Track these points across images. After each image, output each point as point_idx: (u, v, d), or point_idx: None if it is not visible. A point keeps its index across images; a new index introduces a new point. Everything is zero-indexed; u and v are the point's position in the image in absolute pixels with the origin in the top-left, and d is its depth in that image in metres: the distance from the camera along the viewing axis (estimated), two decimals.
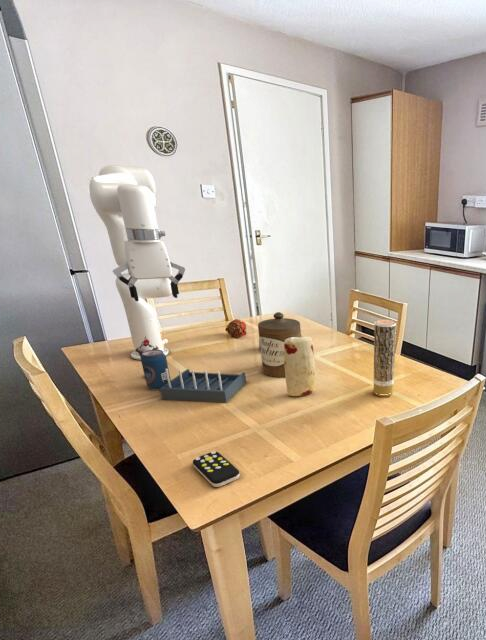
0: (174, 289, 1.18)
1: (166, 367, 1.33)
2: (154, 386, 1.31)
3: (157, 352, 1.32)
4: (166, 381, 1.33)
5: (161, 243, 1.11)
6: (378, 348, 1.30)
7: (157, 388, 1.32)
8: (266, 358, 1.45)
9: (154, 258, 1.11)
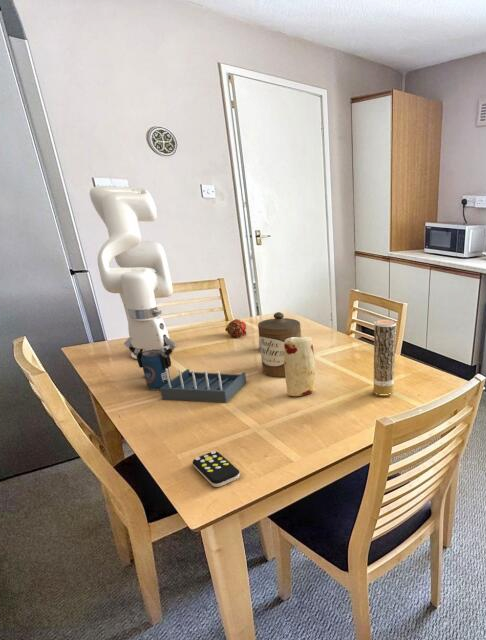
0: (162, 361, 1.30)
1: None
2: (154, 386, 1.31)
3: (157, 352, 1.32)
4: (166, 381, 1.33)
5: (152, 321, 1.24)
6: (378, 348, 1.30)
7: (157, 388, 1.32)
8: (266, 358, 1.45)
9: (146, 333, 1.25)
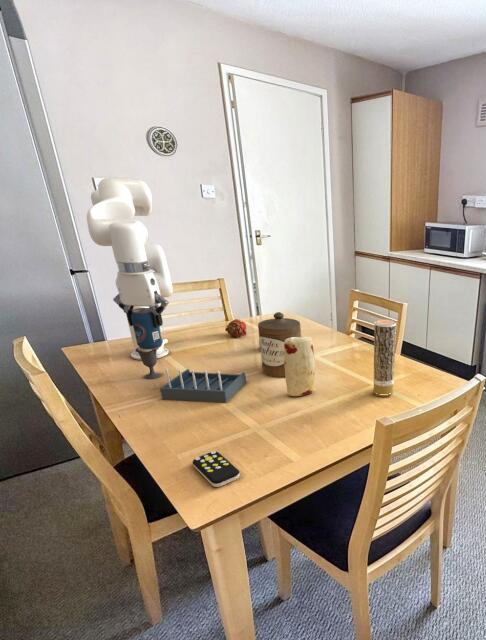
0: (153, 319, 1.25)
1: None
2: (144, 346, 1.26)
3: (148, 310, 1.26)
4: (157, 341, 1.28)
5: (142, 275, 1.19)
6: (378, 348, 1.30)
7: (148, 348, 1.27)
8: (266, 358, 1.45)
9: (136, 288, 1.20)
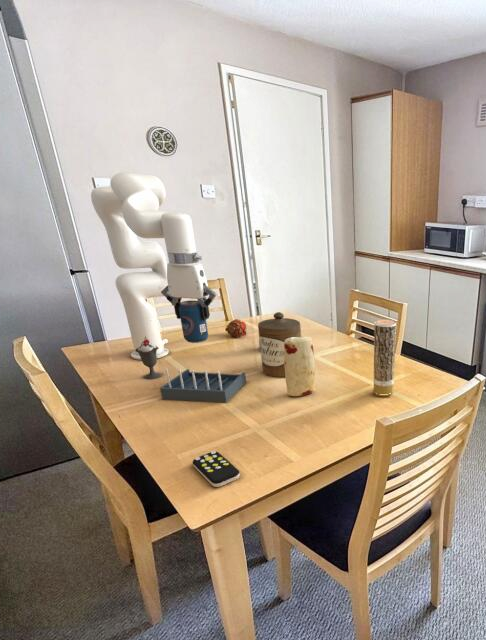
0: (201, 312, 1.23)
1: None
2: (192, 339, 1.25)
3: (195, 303, 1.25)
4: (204, 334, 1.27)
5: (192, 267, 1.17)
6: (378, 348, 1.30)
7: (195, 341, 1.26)
8: (266, 358, 1.45)
9: (185, 280, 1.19)
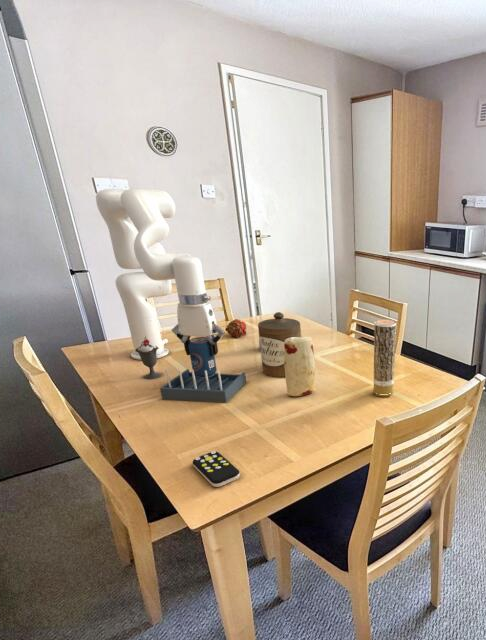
0: (210, 349, 1.28)
1: None
2: (201, 374, 1.30)
3: (204, 339, 1.30)
4: (213, 369, 1.31)
5: (202, 307, 1.22)
6: (378, 348, 1.30)
7: (204, 376, 1.30)
8: (266, 358, 1.45)
9: (195, 319, 1.23)
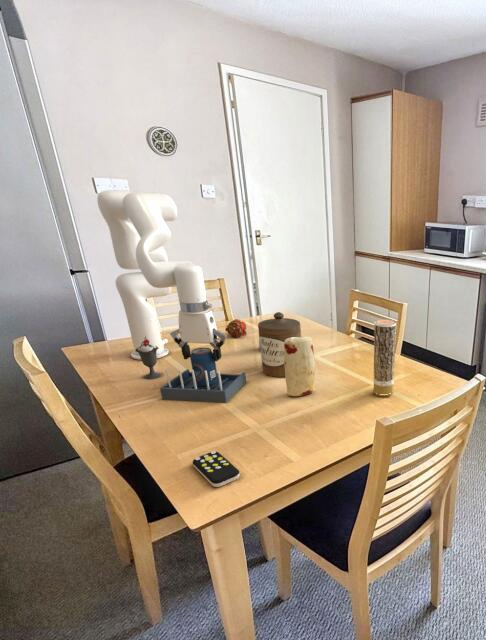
0: (214, 354, 1.29)
1: (214, 365, 1.32)
2: (202, 384, 1.31)
3: (205, 350, 1.31)
4: (214, 379, 1.33)
5: (203, 315, 1.23)
6: (378, 348, 1.30)
7: (205, 386, 1.32)
8: (266, 358, 1.45)
9: (196, 326, 1.24)
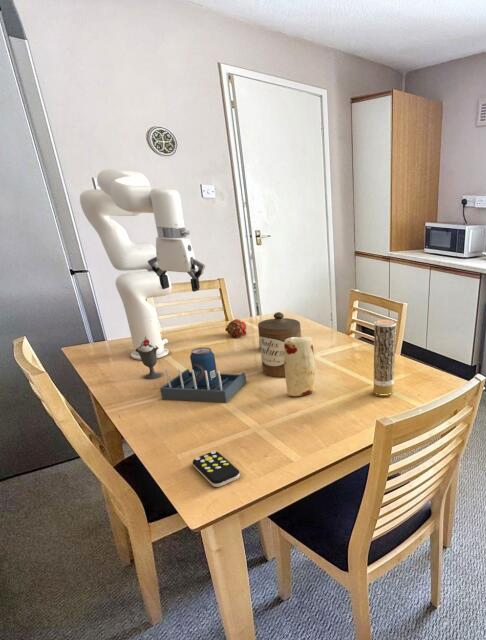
0: (191, 283, 1.29)
1: (214, 365, 1.32)
2: (202, 384, 1.31)
3: (205, 350, 1.31)
4: (214, 379, 1.33)
5: (180, 241, 1.23)
6: (378, 348, 1.30)
7: (205, 386, 1.32)
8: (266, 358, 1.45)
9: (173, 253, 1.24)
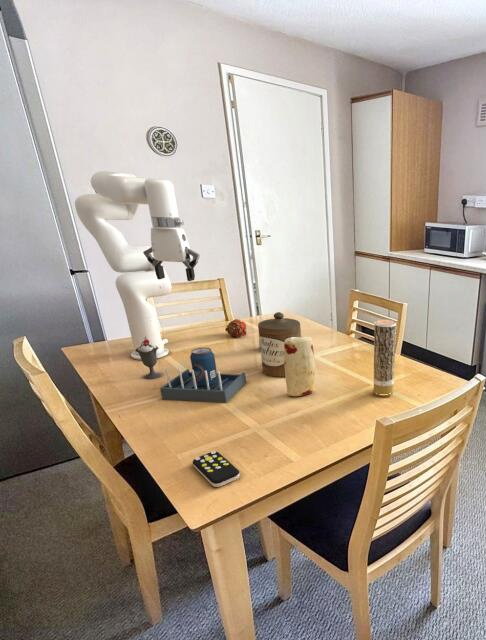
0: (187, 273, 1.30)
1: (214, 365, 1.32)
2: (202, 384, 1.31)
3: (205, 350, 1.31)
4: (214, 379, 1.33)
5: (175, 231, 1.25)
6: (378, 348, 1.30)
7: (205, 386, 1.32)
8: (266, 358, 1.45)
9: (168, 243, 1.26)
